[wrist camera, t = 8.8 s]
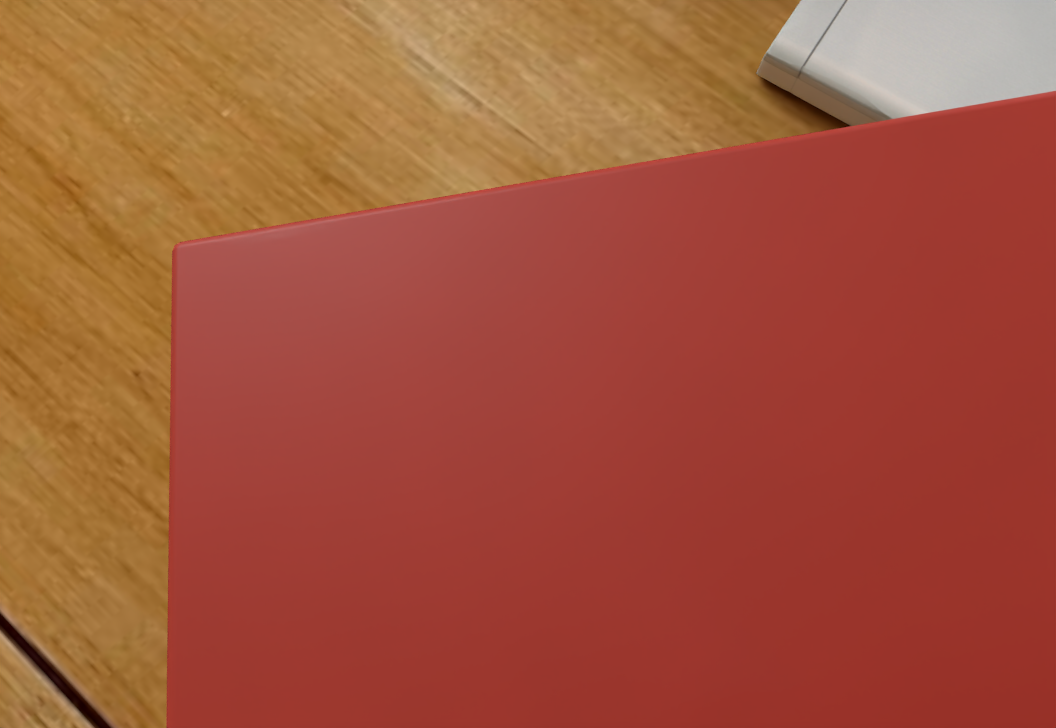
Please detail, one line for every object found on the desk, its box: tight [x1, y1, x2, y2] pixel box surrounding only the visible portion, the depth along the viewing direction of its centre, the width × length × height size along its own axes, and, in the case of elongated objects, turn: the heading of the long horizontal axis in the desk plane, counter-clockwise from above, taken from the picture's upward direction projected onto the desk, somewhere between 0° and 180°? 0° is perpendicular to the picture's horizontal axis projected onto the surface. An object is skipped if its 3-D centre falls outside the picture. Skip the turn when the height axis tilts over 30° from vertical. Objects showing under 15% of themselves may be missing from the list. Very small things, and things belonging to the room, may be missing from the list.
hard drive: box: [757, 0, 1056, 126], centre depth 24 cm, size 2×8×12 cm
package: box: [167, 91, 1056, 728], centre depth 9 cm, size 6×5×13 cm
